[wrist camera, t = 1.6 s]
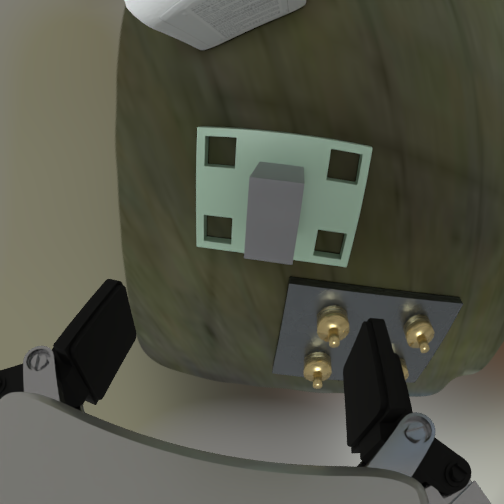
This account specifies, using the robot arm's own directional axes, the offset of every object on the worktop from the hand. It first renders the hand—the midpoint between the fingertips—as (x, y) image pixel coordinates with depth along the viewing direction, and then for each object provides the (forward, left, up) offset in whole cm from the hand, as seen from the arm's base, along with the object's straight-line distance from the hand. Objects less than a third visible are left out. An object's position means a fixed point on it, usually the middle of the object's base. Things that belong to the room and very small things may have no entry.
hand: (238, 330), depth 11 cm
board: (0, 0, -16) cm, 16 cm away
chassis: (-12, +15, -16) cm, 25 cm away
